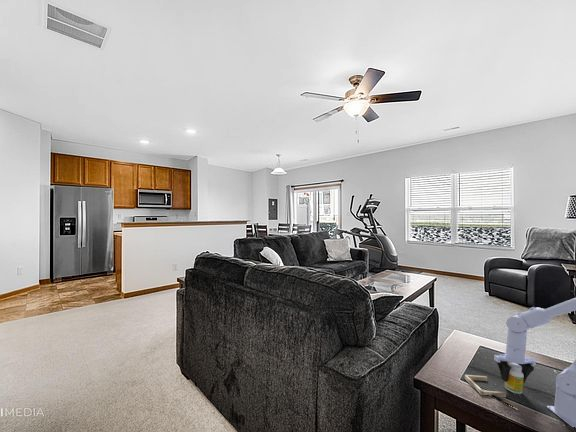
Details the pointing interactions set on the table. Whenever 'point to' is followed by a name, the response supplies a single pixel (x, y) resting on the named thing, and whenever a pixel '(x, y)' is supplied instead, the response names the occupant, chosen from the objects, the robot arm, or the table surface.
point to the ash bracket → (482, 392)
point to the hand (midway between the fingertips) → (512, 380)
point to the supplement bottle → (515, 379)
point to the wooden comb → (502, 400)
